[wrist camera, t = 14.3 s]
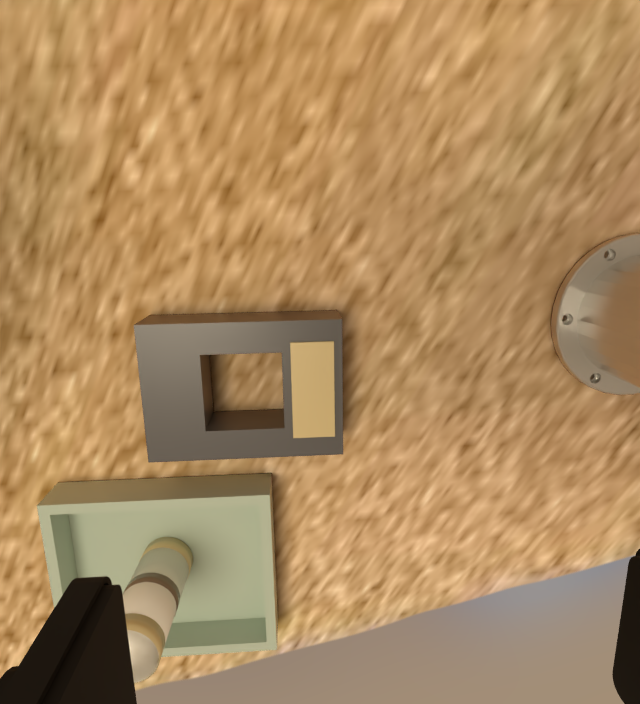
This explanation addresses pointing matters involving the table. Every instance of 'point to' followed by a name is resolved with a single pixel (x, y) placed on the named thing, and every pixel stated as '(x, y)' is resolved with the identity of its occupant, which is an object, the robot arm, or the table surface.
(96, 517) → the parts tray
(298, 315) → the fuse block
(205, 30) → the table surface
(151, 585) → the fuse
